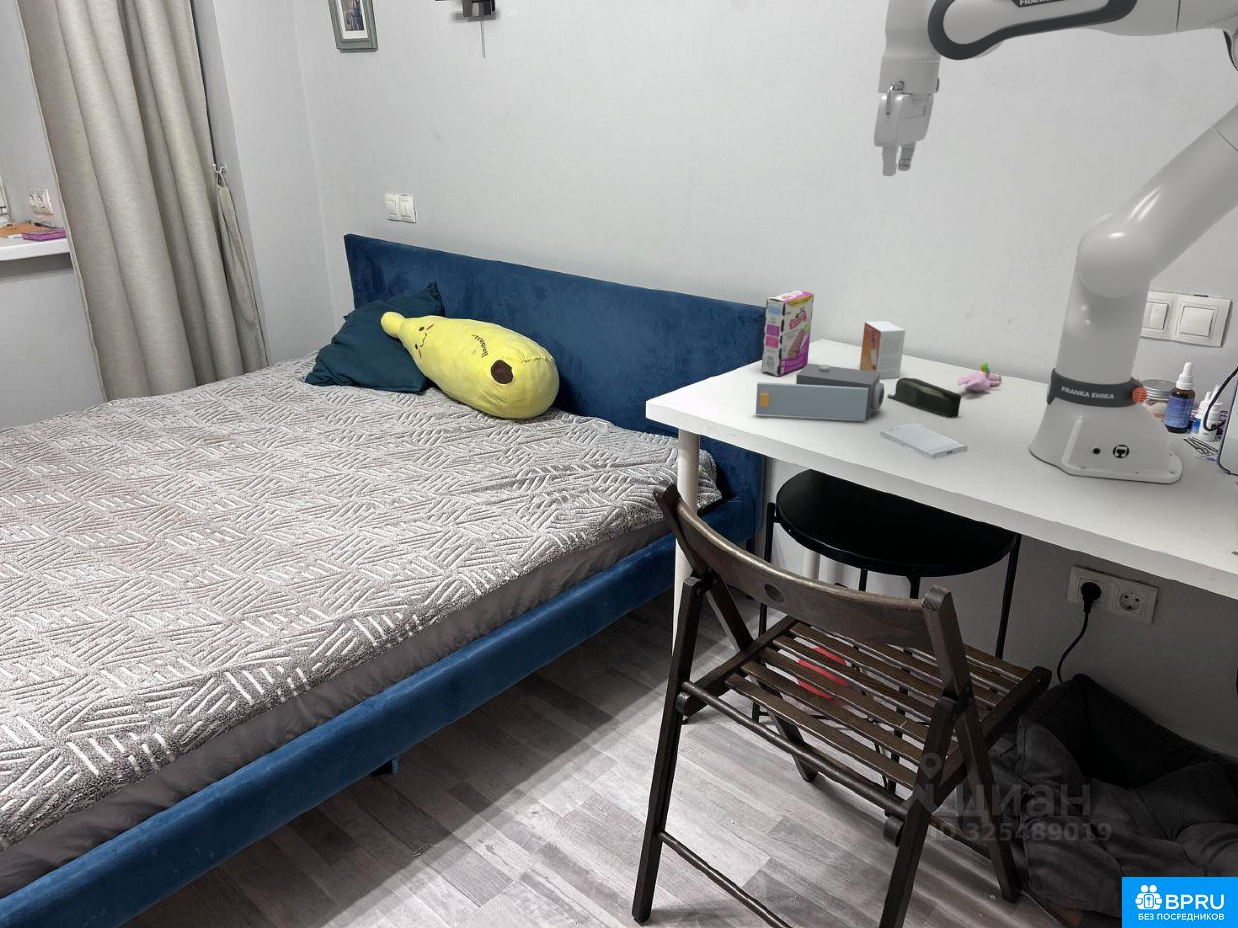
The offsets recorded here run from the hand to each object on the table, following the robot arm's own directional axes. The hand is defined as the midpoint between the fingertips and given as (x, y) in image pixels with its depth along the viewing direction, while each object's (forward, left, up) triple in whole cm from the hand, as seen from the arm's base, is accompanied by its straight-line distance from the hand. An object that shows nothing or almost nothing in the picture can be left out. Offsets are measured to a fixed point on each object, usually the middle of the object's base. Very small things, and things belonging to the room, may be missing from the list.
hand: (896, 173), depth 148 cm
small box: (+5, -32, -44) cm, 55 cm away
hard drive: (-10, +5, -45) cm, 46 cm away
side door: (+11, +2, -44) cm, 45 cm away
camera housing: (+8, -6, -44) cm, 45 cm away
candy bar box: (+24, -26, -44) cm, 57 cm away
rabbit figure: (-16, -29, -45) cm, 56 cm away
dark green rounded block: (-7, -14, -45) cm, 47 cm away
